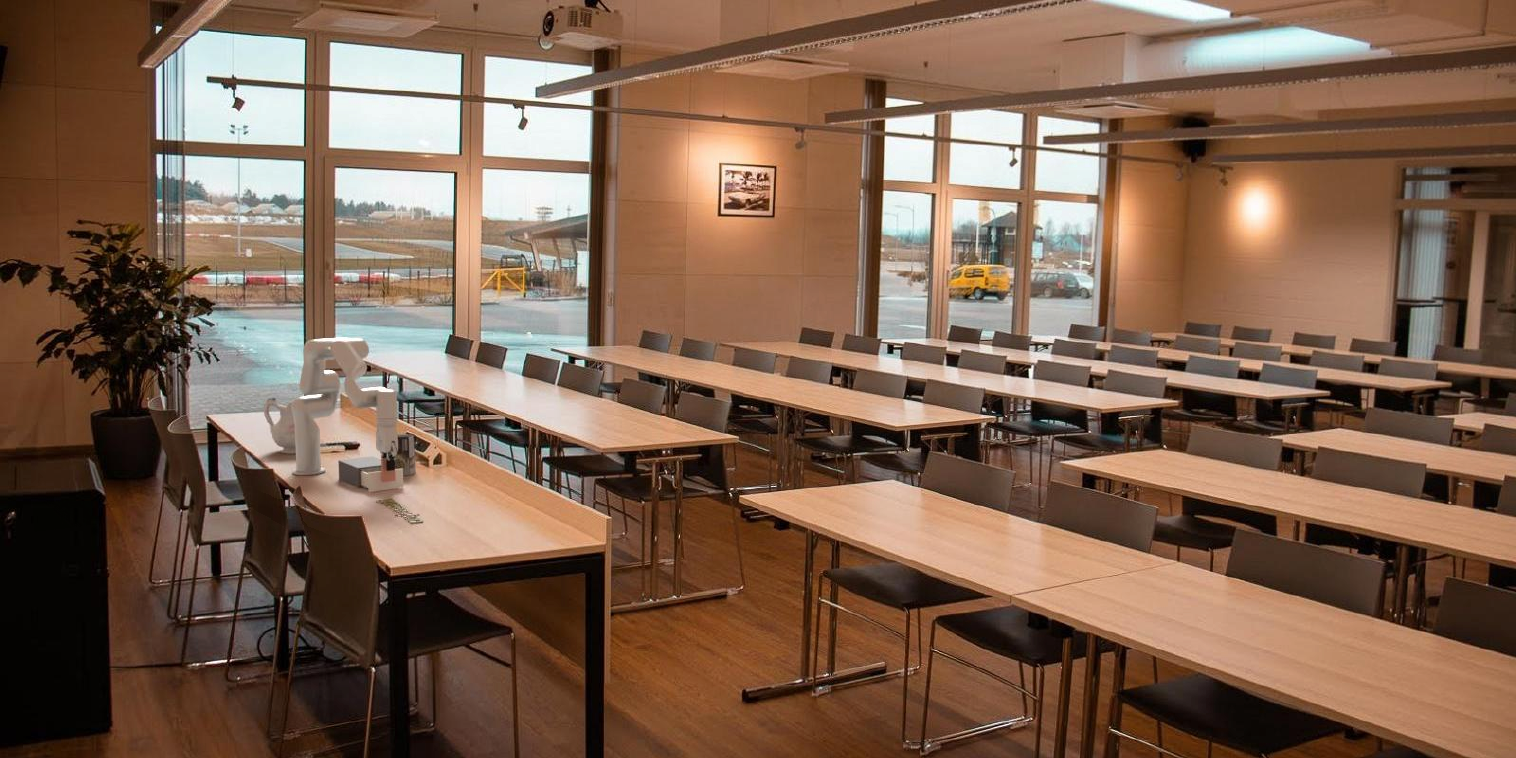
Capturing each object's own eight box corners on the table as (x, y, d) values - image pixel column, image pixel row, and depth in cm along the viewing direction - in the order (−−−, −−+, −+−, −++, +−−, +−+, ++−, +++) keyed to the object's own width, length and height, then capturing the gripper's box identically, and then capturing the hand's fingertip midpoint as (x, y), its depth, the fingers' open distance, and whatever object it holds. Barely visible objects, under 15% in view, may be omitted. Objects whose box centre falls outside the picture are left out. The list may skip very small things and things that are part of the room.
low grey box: (339, 480, 478) (338, 460, 477) (373, 475, 487) (372, 456, 486) (358, 488, 464) (357, 468, 463) (392, 483, 473) (392, 463, 472)
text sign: (396, 499, 447) (374, 502, 443) (396, 497, 447) (374, 500, 443) (428, 522, 414) (405, 525, 410) (428, 520, 414) (405, 523, 409)
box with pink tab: (350, 483, 470) (349, 451, 468) (383, 479, 479) (382, 448, 477) (372, 493, 454) (371, 460, 453) (406, 488, 463) (405, 456, 461)
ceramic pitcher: (273, 459, 522) (273, 403, 517) (259, 449, 536) (259, 395, 532) (323, 454, 535) (323, 400, 531) (308, 444, 550) (308, 391, 545)
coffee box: (416, 472, 494) (415, 433, 492) (410, 475, 488) (409, 436, 486) (394, 471, 495) (393, 433, 493) (388, 475, 489) (387, 436, 487)
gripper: (368, 420, 459) (369, 467, 462) (386, 426, 447) (388, 474, 449) (387, 418, 464) (388, 464, 467) (405, 424, 452) (407, 471, 454)
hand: (388, 469), depth 458 cm, fingers open, 3 cm apart
